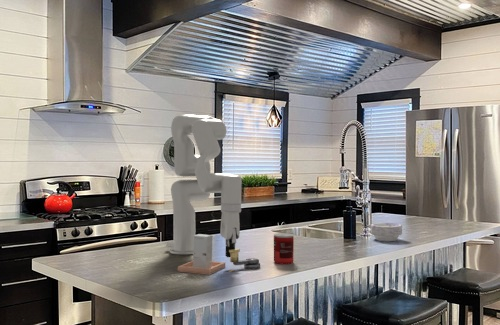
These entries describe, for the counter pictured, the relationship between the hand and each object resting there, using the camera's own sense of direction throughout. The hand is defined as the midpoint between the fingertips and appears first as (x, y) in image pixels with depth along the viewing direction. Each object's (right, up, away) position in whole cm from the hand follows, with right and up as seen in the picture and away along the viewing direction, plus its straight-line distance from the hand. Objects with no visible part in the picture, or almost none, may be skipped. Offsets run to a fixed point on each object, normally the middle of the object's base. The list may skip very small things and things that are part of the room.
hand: (230, 256), depth 190 cm
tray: (-10, -4, -3) cm, 11 cm away
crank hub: (+8, -4, 0) cm, 9 cm away
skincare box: (-10, -4, -3) cm, 11 cm away
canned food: (+21, -4, +9) cm, 23 cm away
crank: (+5, -3, -1) cm, 6 cm away
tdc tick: (+1, -4, -7) cm, 8 cm away
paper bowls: (+76, -4, +63) cm, 99 cm away
